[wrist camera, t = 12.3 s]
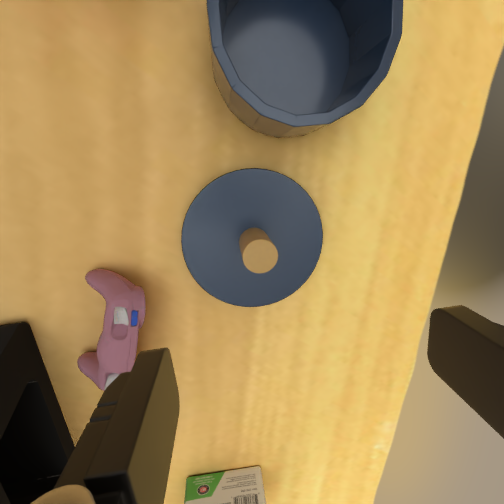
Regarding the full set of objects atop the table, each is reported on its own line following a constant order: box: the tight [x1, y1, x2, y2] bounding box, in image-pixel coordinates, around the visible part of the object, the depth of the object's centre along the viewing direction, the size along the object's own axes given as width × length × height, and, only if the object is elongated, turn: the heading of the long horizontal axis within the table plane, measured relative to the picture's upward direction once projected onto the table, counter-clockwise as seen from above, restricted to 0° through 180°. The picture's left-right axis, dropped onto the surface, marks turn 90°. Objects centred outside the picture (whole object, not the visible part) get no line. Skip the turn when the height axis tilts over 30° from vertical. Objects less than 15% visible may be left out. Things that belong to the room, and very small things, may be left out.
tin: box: [207, 0, 403, 138], centre depth 20 cm, size 11×11×6 cm
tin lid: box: [181, 168, 323, 307], centre depth 24 cm, size 12×12×6 cm
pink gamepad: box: [77, 269, 145, 391], centre depth 25 cm, size 10×5×7 cm, turn 167°
